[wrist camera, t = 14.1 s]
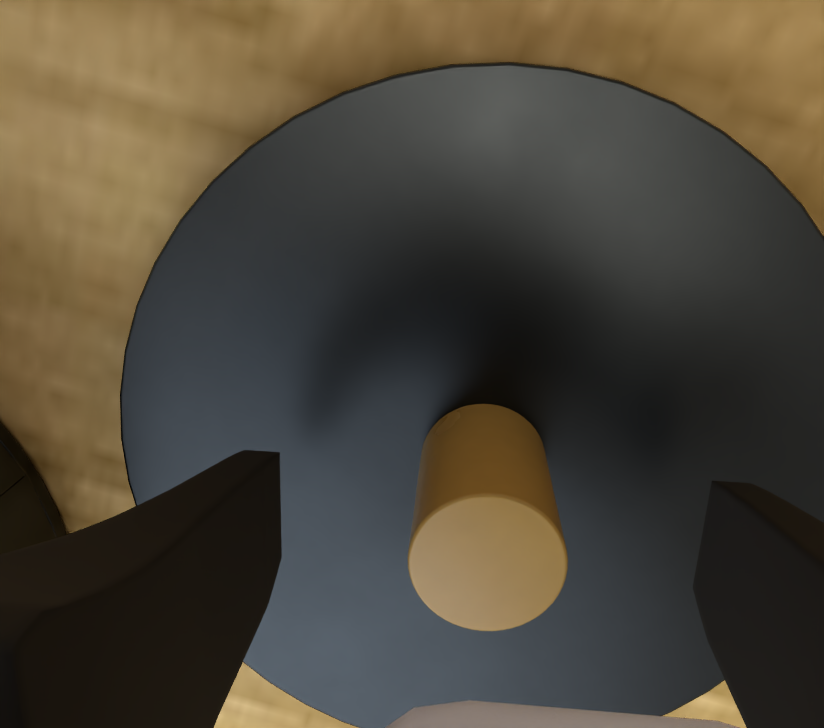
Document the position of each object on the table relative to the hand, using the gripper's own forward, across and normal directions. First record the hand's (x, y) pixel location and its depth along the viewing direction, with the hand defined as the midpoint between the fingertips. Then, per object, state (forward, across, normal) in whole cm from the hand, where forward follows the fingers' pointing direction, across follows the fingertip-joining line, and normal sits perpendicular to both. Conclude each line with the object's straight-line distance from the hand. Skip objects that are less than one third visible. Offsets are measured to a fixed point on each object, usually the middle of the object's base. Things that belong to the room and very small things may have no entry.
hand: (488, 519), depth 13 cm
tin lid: (+3, 0, 0) cm, 3 cm away
